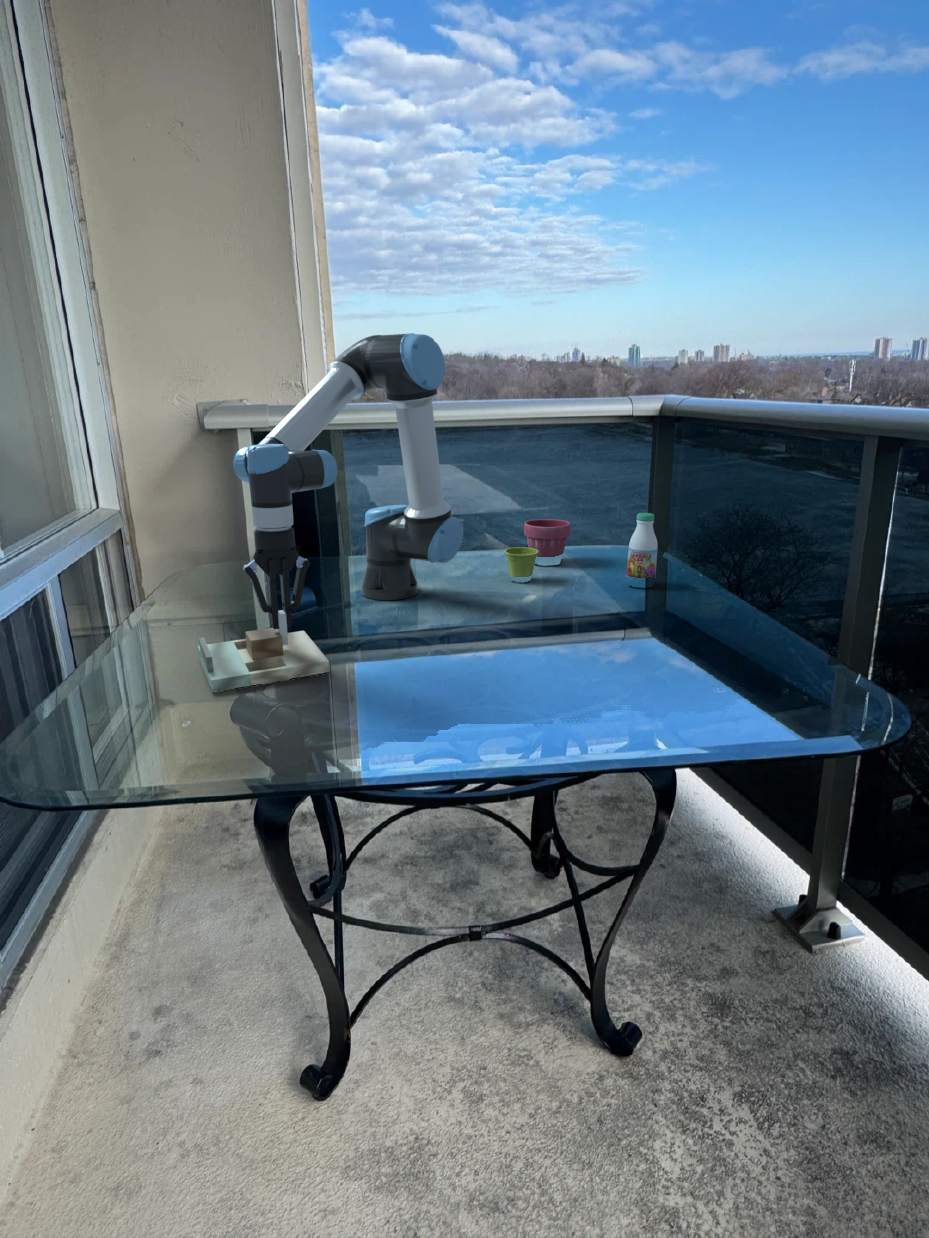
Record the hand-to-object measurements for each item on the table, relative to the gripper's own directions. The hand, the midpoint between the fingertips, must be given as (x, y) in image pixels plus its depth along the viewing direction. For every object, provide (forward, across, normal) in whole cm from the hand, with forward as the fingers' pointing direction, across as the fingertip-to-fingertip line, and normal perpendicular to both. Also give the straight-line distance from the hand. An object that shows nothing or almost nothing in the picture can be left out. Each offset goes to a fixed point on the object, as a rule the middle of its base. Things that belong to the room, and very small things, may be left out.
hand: (283, 642), depth 148 cm
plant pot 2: (+4, -92, -48) cm, 104 cm away
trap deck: (+4, +4, 0) cm, 6 cm away
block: (+2, +4, 0) cm, 4 cm away
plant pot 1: (+4, -74, -33) cm, 82 cm away
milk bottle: (+4, -102, -14) cm, 103 cm away
